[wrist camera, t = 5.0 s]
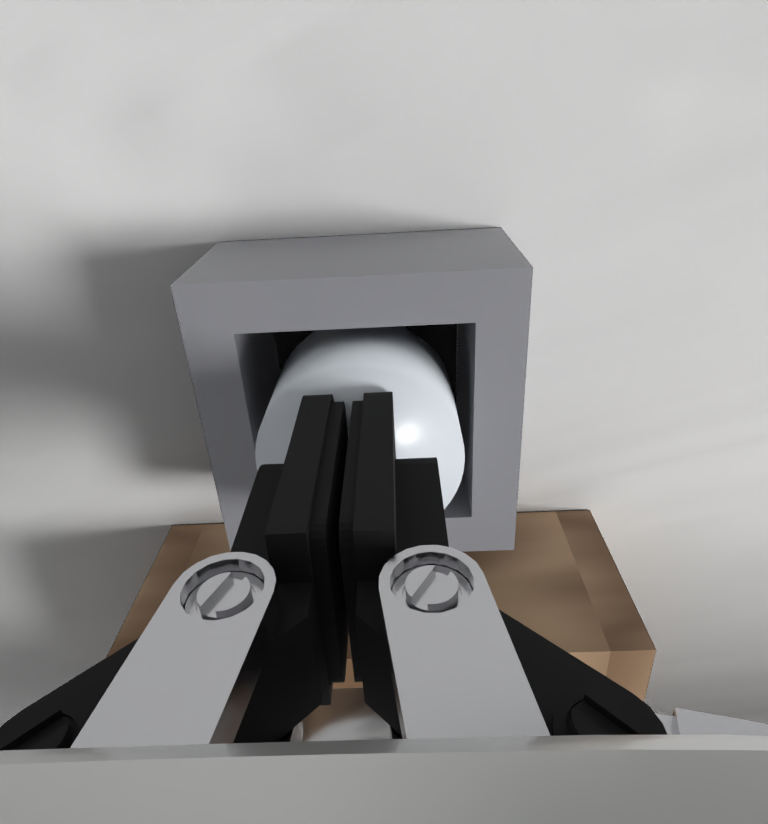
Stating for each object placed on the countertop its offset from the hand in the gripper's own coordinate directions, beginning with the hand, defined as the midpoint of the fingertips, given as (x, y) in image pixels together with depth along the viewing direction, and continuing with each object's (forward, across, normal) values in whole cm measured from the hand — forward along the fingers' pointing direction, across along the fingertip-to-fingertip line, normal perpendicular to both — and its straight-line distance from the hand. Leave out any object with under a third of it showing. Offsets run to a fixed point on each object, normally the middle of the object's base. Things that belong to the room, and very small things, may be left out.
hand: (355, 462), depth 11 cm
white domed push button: (+2, 0, 0) cm, 3 cm away
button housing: (+5, 0, 0) cm, 5 cm away
